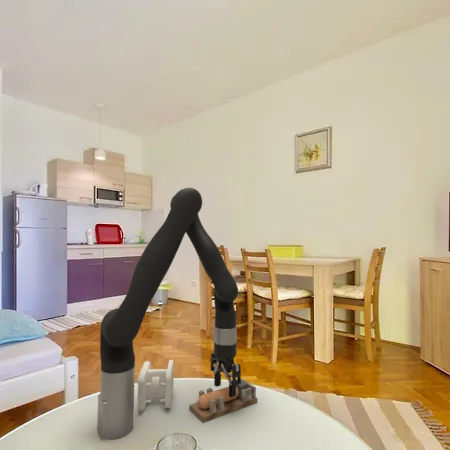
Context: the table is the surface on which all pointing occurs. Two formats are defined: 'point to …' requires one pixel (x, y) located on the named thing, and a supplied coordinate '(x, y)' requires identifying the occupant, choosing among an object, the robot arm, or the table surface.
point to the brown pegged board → (224, 404)
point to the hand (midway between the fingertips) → (224, 391)
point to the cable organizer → (155, 384)
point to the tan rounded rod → (205, 398)
